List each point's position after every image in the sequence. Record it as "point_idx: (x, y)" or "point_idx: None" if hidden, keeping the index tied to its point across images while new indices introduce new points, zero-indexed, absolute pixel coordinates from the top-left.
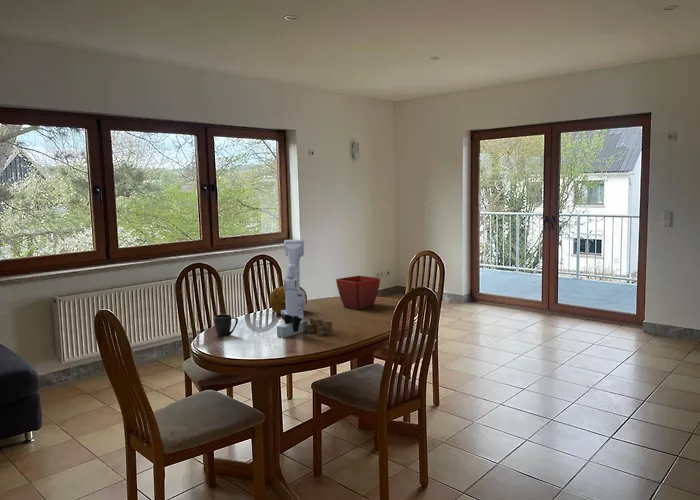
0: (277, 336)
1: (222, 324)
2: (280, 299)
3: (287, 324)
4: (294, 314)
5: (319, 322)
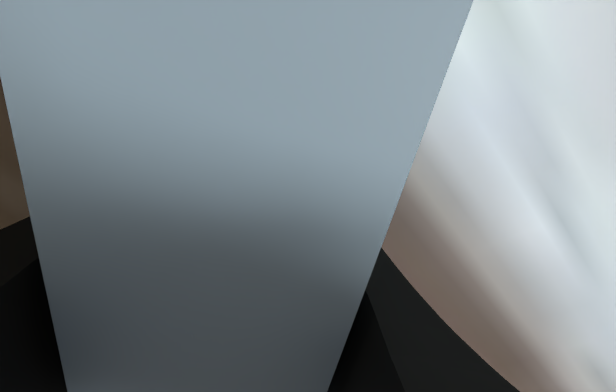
0: None
1: None
2: None
3: (248, 239)
4: None
5: None
